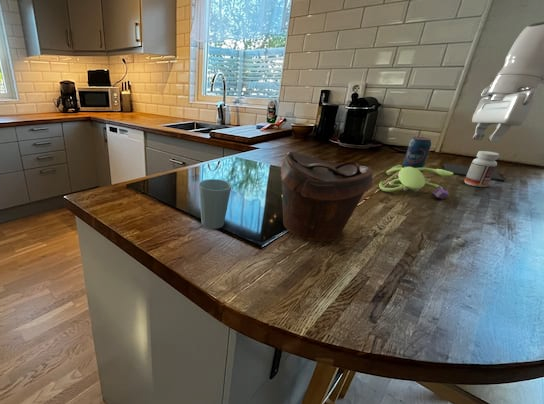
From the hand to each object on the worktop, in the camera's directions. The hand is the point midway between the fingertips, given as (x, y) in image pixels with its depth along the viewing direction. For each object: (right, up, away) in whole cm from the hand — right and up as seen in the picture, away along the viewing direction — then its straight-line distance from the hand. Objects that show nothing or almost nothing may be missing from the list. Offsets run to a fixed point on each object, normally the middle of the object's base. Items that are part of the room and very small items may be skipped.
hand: (484, 140), depth 84 cm
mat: (+28, -6, +33) cm, 44 cm away
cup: (-78, -23, -10) cm, 82 cm away
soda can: (+9, -3, +38) cm, 40 cm away
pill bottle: (+17, -11, +20) cm, 29 cm away
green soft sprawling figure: (-7, -12, +17) cm, 22 cm away
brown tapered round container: (-54, -24, -12) cm, 60 cm away
